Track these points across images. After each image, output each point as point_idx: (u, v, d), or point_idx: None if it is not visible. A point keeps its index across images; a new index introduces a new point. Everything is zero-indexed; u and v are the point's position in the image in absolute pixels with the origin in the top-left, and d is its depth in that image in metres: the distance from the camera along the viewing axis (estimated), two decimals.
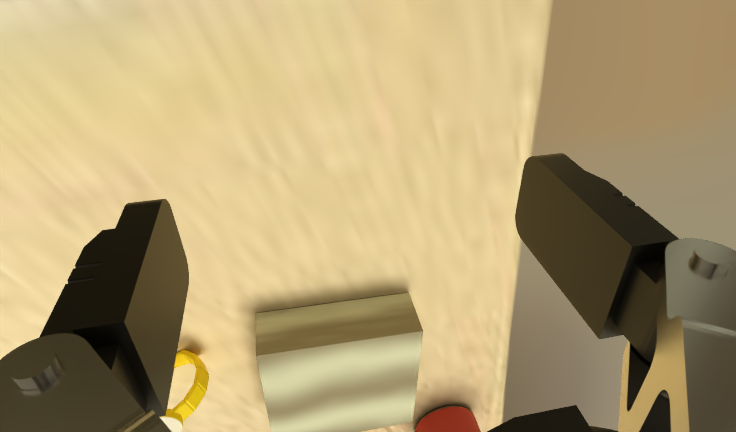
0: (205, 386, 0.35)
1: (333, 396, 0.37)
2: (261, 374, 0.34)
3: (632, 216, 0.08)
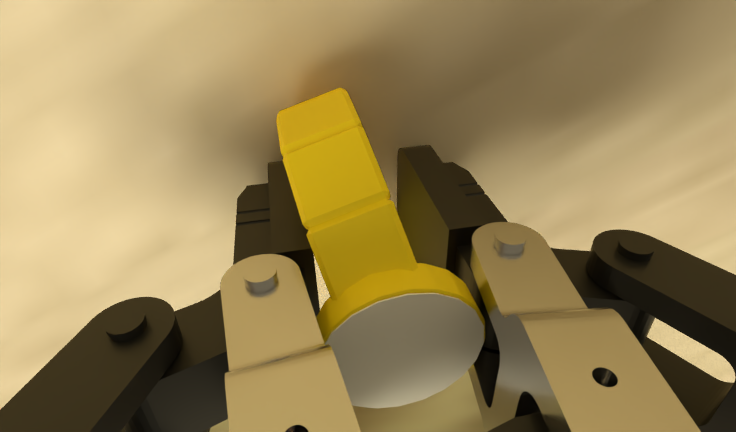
0: None
1: None
2: None
3: (463, 202, 0.09)
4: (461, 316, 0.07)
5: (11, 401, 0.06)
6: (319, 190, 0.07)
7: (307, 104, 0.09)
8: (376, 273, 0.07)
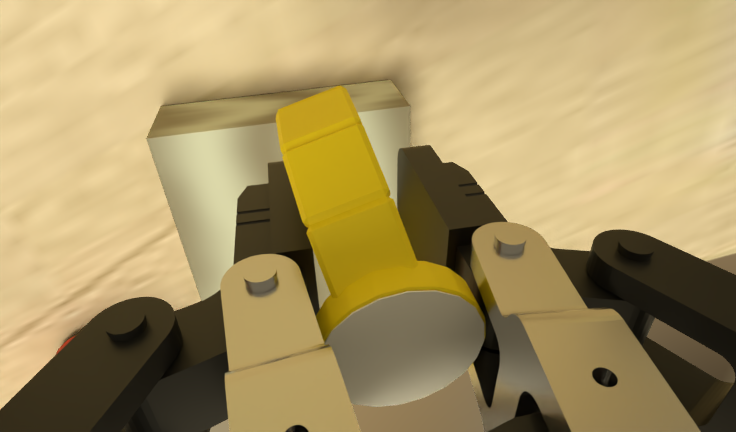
0: None
1: None
2: (366, 113, 0.22)
3: (463, 202, 0.09)
4: (462, 314, 0.07)
5: (11, 401, 0.06)
6: (319, 188, 0.07)
7: (306, 102, 0.09)
8: (376, 271, 0.07)
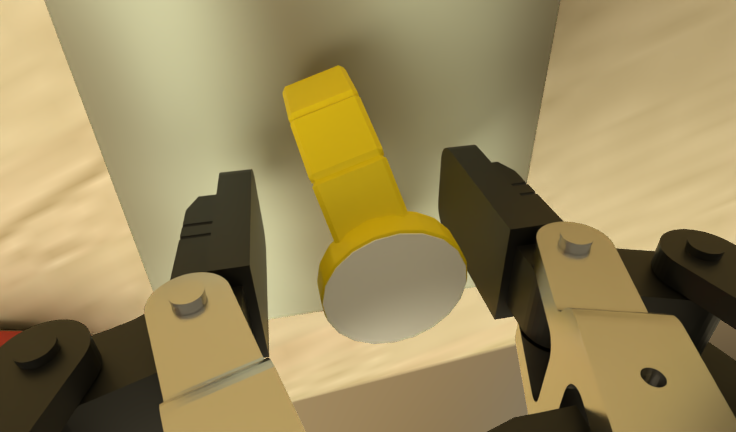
0: None
1: None
2: None
3: (520, 202, 0.09)
4: (446, 256, 0.08)
5: None
6: (322, 149, 0.08)
7: (310, 79, 0.10)
8: (372, 218, 0.08)
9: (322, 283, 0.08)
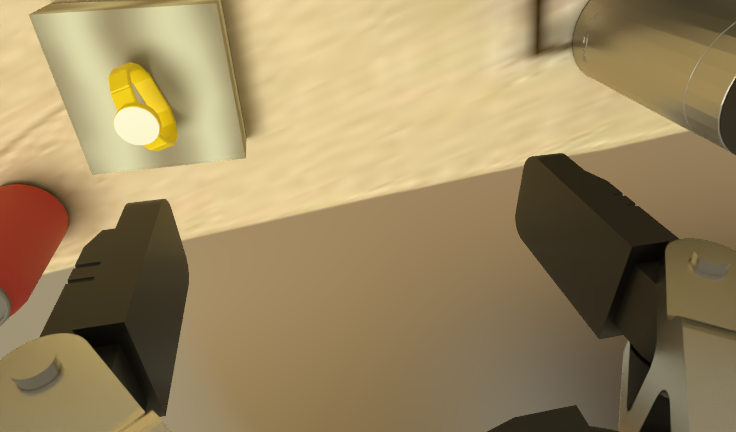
0: (161, 148, 0.35)
1: None
2: (185, 6, 0.33)
3: (632, 216, 0.08)
4: (148, 115, 0.31)
5: None
6: (114, 85, 0.31)
7: (119, 66, 0.32)
8: (126, 103, 0.30)
9: None
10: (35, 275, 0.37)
